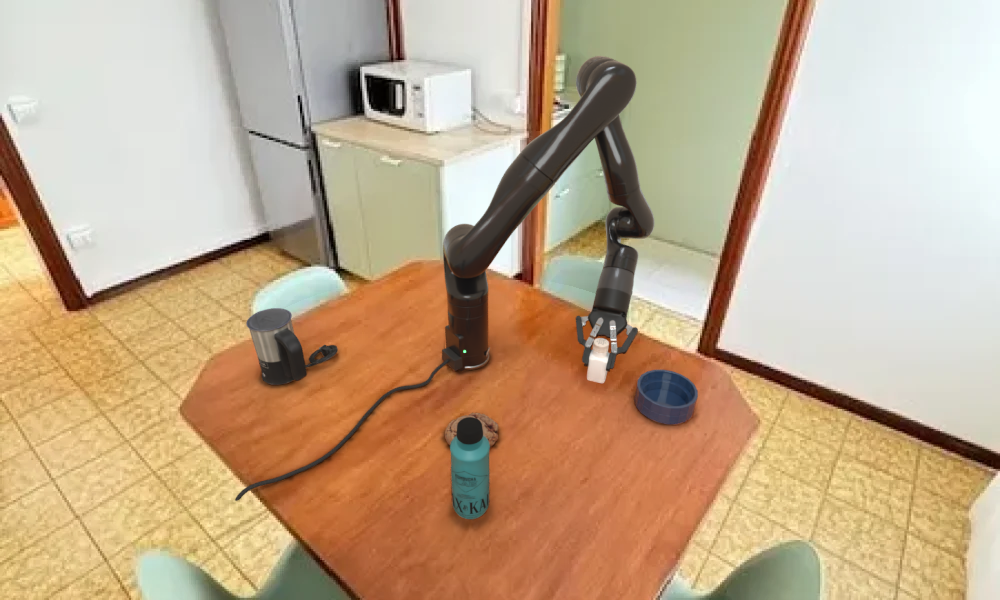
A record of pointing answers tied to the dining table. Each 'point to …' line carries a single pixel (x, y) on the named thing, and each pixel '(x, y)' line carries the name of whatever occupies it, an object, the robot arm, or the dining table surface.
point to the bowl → (665, 396)
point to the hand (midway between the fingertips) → (596, 368)
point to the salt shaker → (598, 361)
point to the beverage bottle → (470, 469)
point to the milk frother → (281, 347)
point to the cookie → (487, 424)
